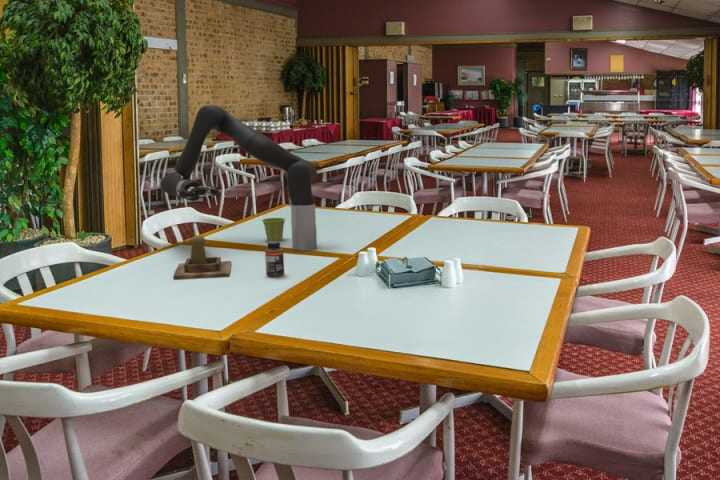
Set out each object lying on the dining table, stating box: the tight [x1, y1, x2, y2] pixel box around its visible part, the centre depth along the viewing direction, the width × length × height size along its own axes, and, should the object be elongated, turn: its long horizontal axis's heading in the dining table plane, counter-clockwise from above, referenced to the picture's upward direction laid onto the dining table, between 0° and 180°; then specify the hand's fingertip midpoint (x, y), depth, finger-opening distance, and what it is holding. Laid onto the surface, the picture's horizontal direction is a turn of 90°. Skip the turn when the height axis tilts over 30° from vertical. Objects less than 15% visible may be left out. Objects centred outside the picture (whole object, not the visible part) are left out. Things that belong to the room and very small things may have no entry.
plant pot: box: [261, 217, 286, 242], centre depth 304 cm, size 9×9×9 cm
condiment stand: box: [172, 256, 232, 280], centre depth 254 cm, size 18×18×4 cm
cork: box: [189, 235, 208, 265], centre depth 253 cm, size 6×6×11 cm
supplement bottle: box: [264, 241, 285, 278], centre depth 247 cm, size 6×6×11 cm
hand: (205, 193), depth 269 cm, fingers open, 8 cm apart
